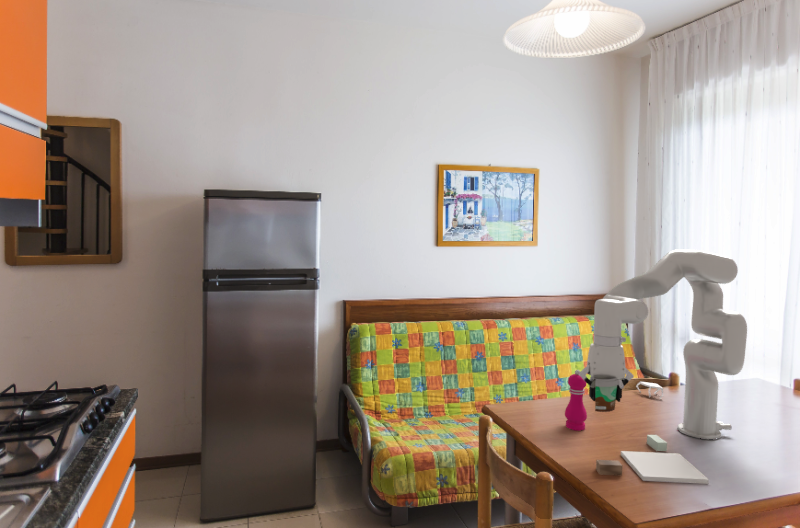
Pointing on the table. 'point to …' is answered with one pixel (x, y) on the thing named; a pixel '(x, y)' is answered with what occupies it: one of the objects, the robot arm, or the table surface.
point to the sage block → (656, 443)
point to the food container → (605, 394)
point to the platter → (663, 467)
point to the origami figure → (651, 385)
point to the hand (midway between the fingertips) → (605, 399)
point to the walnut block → (608, 467)
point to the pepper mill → (576, 403)
